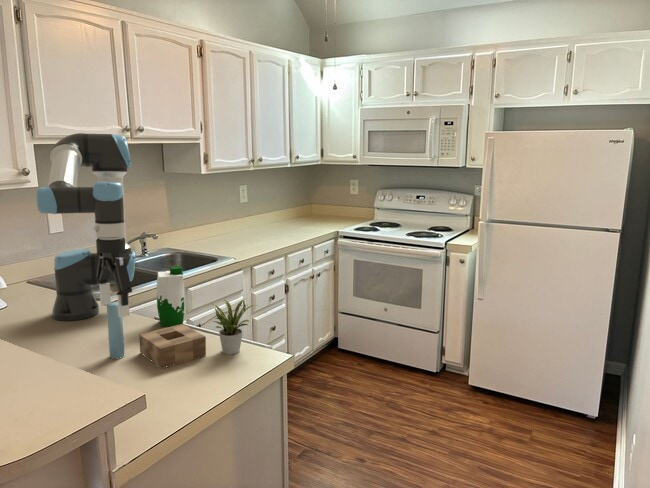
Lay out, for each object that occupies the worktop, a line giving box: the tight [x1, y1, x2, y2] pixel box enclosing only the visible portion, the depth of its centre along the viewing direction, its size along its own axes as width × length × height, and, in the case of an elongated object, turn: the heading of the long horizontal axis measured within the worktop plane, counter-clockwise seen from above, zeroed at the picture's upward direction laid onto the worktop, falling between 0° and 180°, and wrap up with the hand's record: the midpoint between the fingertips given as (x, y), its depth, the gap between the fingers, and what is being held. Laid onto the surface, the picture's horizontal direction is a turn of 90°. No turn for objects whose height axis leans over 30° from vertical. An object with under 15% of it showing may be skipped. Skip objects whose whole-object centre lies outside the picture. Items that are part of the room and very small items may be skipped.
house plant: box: [212, 298, 259, 355], centre depth 149 cm, size 14×14×16 cm
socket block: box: [138, 323, 207, 369], centre depth 146 cm, size 14×14×6 cm
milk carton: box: [156, 265, 185, 328], centre depth 170 cm, size 9×9×20 cm
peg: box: [106, 301, 125, 359], centre depth 142 cm, size 4×4×16 cm
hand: (114, 310), depth 141 cm, fingers open, 13 cm apart
